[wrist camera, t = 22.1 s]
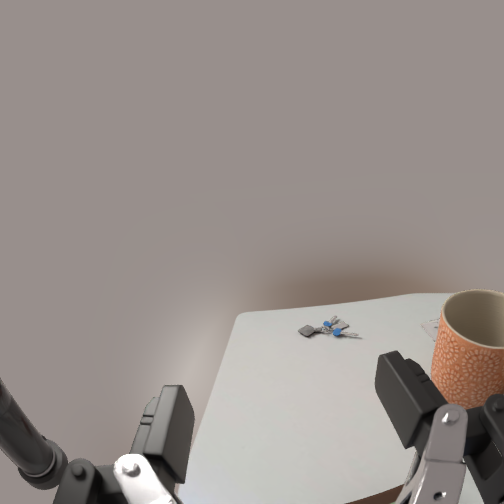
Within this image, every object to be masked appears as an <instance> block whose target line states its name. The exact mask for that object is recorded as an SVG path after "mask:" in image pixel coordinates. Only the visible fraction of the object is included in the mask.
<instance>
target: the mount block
mask: <svg viewBox="0 0 504 504" xmlns="http://www.w3.org/2000/svg"><path fill="white" fill-rule="evenodd" d="M403 486H404V484H403V485H400V486H398V487H395V488H393V489H390V490H387V491H385V492H382V493H379V494H376V495H373V496H370V497H367V498H364V499H360V500H357V501H353V502H350V503H346V504H390V503H393V502H396V500H397V498H398V497H399V495H400V493H401V491H402V489H403Z"/></svg>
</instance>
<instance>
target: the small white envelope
mask: <svg viewBox="0 0 504 504" xmlns="http://www.w3.org/2000/svg"><path fill="white" fill-rule="evenodd" d="M439 321H440V318H439V319H437V320H433V321H429V322H426V323H422V324H420V325H421V326H422V327H423V329H424V330H425V331H426V332H427V333H428V334H429V336H430V337H431V338H432V339H433V340H434V341H436V338H437V333H438V327H439Z"/></svg>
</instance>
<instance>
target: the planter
mask: <svg viewBox="0 0 504 504" xmlns="http://www.w3.org/2000/svg"><path fill="white" fill-rule="evenodd" d="M431 379H432V382H433V383H434V384H435V386H436V387H437V388H438V390H439V391H440V392H441V394H442V395H443V396H444V398H445V399H446V400H447V402H448V403H449V404H450V403H452V404H458V405H460V406H462V407H463V408H464V409H470V408H475V407H479V406H483V405H484V403H485V401H486V400H487V398H488V397H490V396H491V395H494V394H504V293H501V292H497V291H492V290H483V289H473V290H466V291H462V292H459V293H456V294H454V295H452V296H450V297H449V298H448V299H447V300H446V301H445V302H444V304H443V306H442V310H441V315H440V321H439V327H438V333H437V338H436V343H435V348H434V353H433V359H432V367H431Z"/></svg>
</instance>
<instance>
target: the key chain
mask: <svg viewBox="0 0 504 504" xmlns="http://www.w3.org/2000/svg"><path fill="white" fill-rule="evenodd" d="M335 318H337V316H334V317H332V318H331V319H330V320H329V321H325V322H324V323H323V324H324V326H322V327H321V328H313V327H311V326H309V325H306V326H305V327H303V328H301V329H299V330H298V332H300V333H302V334H304V335H305V336H308V335H310V334H311V333H313V332H327V331H329V328H328V327H329V326H331V325H332V322H333V321H335V320H334V319H335ZM347 326H349V325H348V324H346V323H345V322H344V321H343V322H340V323H338V324H335V325H333V326H331V327H332V328H333V329H334V331H333V335H334V336H338V335H340V334H347V335H354V336H358V335H359V334H354V333H348V332H341V329H342V328H345V327H347ZM322 328H326V329H328V330H326V331H325V329H324V331H322ZM328 333H331V332H328Z"/></svg>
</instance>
